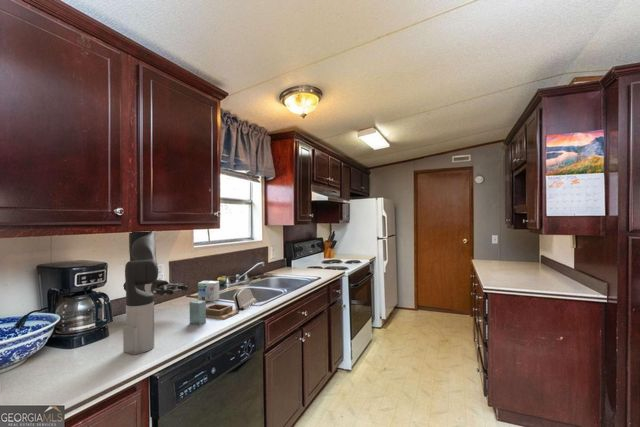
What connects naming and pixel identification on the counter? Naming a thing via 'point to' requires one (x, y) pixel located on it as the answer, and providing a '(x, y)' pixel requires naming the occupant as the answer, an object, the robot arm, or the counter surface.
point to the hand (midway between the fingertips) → (180, 290)
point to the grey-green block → (197, 312)
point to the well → (220, 311)
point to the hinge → (243, 299)
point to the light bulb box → (208, 290)
